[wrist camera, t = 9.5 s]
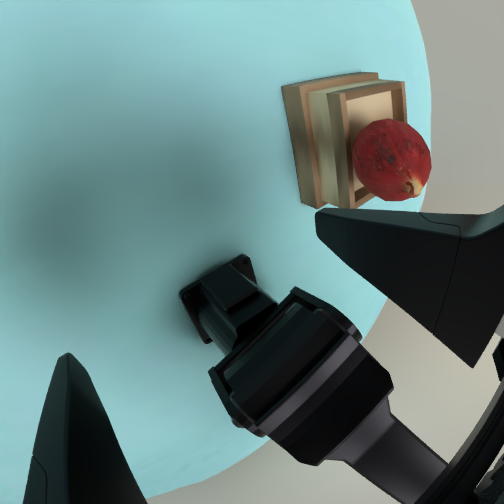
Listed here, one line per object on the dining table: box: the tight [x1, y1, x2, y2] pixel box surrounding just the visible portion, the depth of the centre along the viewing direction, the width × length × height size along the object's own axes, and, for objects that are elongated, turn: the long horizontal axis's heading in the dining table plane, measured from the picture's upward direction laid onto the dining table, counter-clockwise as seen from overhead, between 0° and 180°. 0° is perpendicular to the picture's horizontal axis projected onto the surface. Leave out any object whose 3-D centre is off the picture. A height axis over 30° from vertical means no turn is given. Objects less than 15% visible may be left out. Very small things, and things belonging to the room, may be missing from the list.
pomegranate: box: [352, 118, 431, 201], centre depth 19 cm, size 6×6×8 cm
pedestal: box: [281, 72, 407, 209], centre depth 24 cm, size 10×10×5 cm
